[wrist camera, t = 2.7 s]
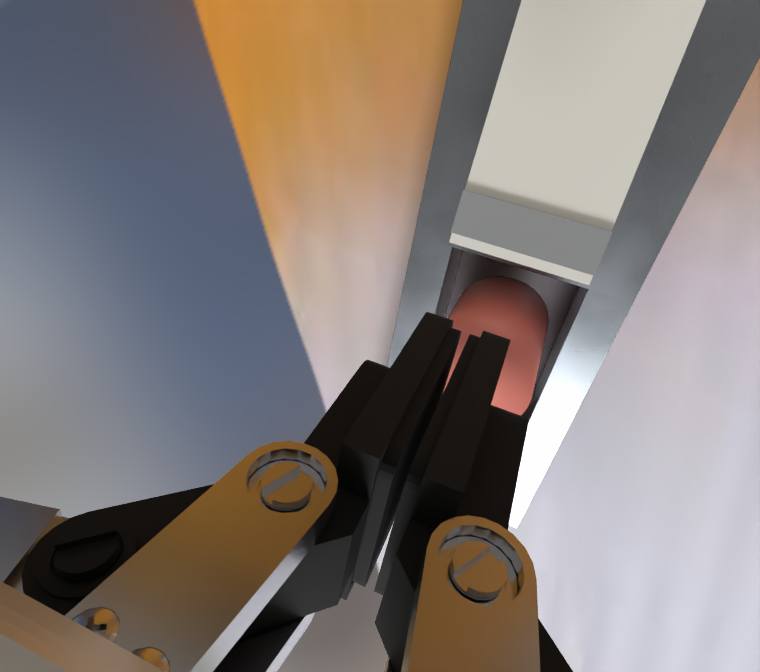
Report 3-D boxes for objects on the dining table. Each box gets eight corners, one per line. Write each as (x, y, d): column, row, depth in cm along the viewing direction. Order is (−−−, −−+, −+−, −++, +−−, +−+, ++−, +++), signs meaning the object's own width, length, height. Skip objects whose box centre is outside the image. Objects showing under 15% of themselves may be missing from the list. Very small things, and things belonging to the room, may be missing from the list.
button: (468, 264, 20) (435, 319, 16) (562, 293, 19) (549, 358, 15) (447, 339, 22) (413, 403, 18) (531, 369, 21) (512, 441, 17)
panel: (497, -54, 16) (468, -71, 13) (767, -8, 15) (807, -15, 12) (387, 428, 29) (358, 478, 26) (525, 483, 27) (513, 544, 24)
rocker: (535, -18, 14) (532, -43, 12) (694, 11, 13) (713, -12, 11) (457, 237, 16) (447, 242, 15) (586, 276, 15) (590, 286, 14)
